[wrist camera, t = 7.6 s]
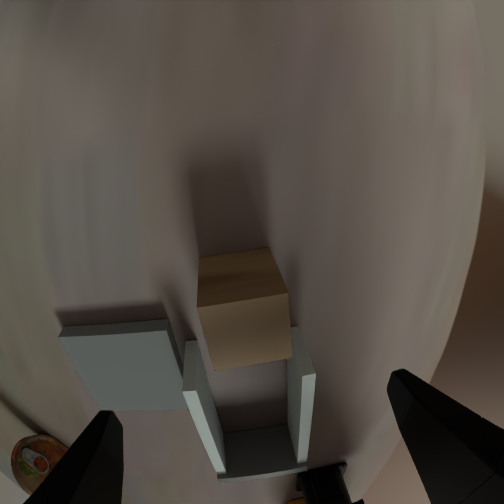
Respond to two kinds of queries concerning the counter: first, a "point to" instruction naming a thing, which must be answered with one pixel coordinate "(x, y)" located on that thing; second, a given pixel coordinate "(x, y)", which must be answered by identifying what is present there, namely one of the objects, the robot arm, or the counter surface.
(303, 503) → the coffee package
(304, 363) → the grey open rectangular frame
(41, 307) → the counter surface
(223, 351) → the block
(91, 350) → the tile
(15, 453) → the tin
